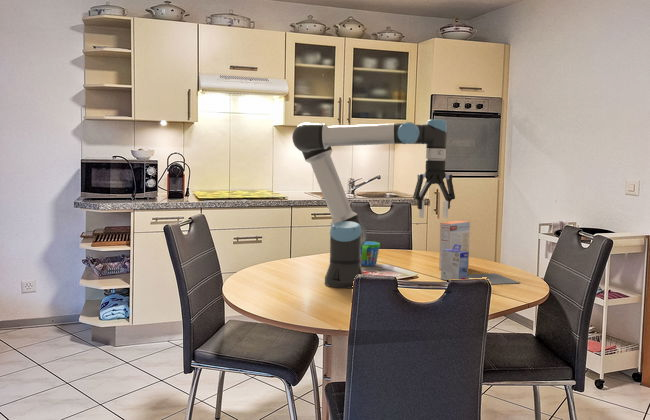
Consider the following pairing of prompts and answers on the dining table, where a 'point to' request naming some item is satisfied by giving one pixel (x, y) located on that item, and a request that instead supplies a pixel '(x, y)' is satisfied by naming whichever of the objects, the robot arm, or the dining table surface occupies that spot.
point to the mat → (494, 278)
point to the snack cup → (369, 253)
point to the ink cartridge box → (454, 263)
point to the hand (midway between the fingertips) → (433, 217)
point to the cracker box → (454, 236)
